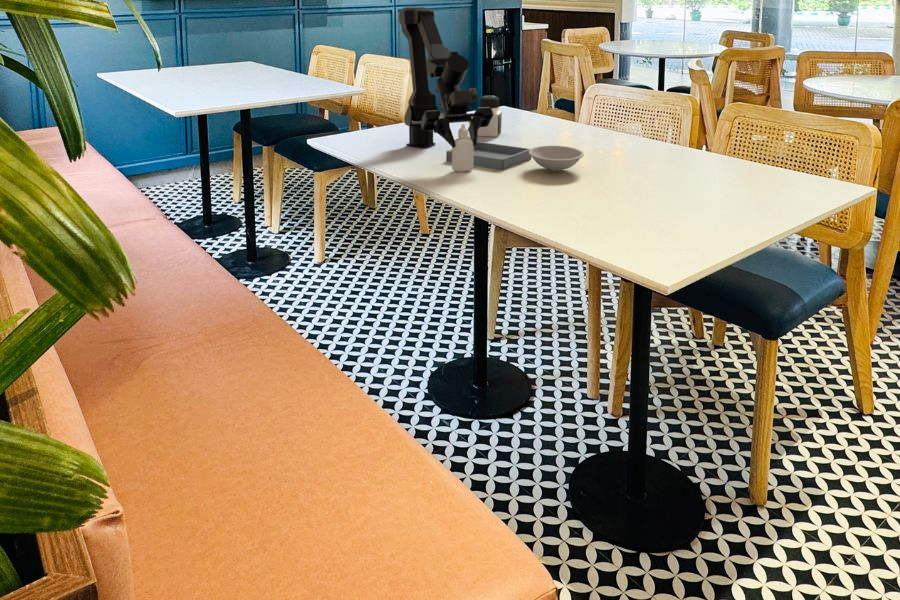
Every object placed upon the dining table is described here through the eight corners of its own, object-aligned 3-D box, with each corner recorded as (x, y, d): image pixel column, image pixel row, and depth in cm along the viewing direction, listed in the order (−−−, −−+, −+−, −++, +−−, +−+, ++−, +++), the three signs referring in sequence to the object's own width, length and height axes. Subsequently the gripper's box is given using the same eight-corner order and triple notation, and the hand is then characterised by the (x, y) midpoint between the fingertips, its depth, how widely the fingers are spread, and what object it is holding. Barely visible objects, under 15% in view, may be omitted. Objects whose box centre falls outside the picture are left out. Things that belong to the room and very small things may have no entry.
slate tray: (446, 161, 229) (446, 151, 228) (477, 151, 241) (477, 141, 240) (502, 170, 219) (502, 159, 218) (531, 158, 232) (531, 149, 231)
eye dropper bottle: (452, 167, 220) (452, 122, 216) (473, 168, 220) (474, 122, 215) (451, 171, 216) (452, 125, 212) (473, 172, 216) (473, 126, 211)
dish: (525, 163, 227) (526, 145, 225) (577, 163, 227) (579, 145, 225) (530, 179, 211) (531, 159, 209) (587, 179, 210) (588, 160, 209)
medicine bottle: (498, 137, 260) (499, 98, 255) (475, 136, 261) (476, 97, 257) (501, 133, 266) (502, 95, 262) (479, 132, 268) (480, 94, 263)
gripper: (423, 78, 209) (438, 130, 204) (491, 75, 215) (507, 126, 210) (414, 105, 219) (428, 155, 214) (479, 101, 225) (494, 150, 220)
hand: (464, 146), depth 214 cm, fingers closed on eye dropper bottle, 5 cm apart
